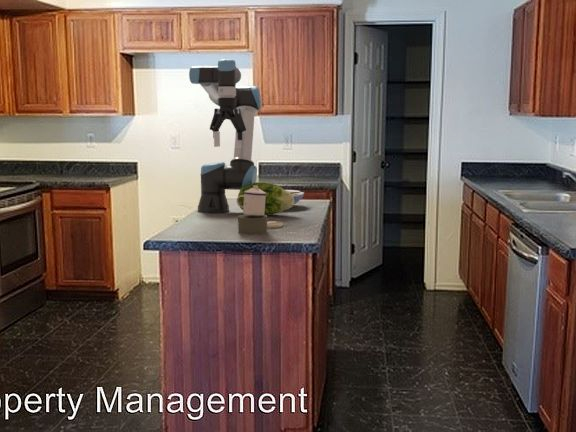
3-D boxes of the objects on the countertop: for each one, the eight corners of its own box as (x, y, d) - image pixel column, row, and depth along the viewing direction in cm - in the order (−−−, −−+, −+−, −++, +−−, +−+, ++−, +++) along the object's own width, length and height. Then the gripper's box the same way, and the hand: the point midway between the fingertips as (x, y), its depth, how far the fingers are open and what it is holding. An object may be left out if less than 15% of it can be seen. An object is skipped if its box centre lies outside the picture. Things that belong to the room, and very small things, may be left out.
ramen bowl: (283, 201, 333) (283, 186, 331) (314, 206, 317) (315, 190, 316) (248, 207, 315) (248, 191, 314) (280, 212, 299) (280, 195, 298)
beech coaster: (254, 226, 264) (254, 223, 264) (270, 223, 271) (270, 220, 271) (271, 229, 257) (271, 226, 257) (287, 226, 265) (287, 223, 264)
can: (231, 232, 251) (231, 215, 250) (255, 228, 259) (255, 212, 258) (249, 236, 242) (249, 219, 241) (273, 233, 250) (273, 216, 249)
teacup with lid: (267, 215, 253) (269, 186, 252) (261, 216, 244) (263, 186, 243) (239, 212, 256) (241, 183, 255) (232, 213, 247) (234, 184, 246)
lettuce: (292, 219, 281) (292, 185, 279) (234, 217, 285) (234, 183, 282) (296, 213, 296) (296, 181, 293) (241, 212, 300) (241, 180, 297)
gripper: (201, 97, 269) (201, 146, 273) (241, 96, 253) (241, 149, 256) (214, 97, 275) (214, 145, 278) (254, 97, 258) (254, 148, 262)
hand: (227, 147), depth 267 cm, fingers open, 13 cm apart
